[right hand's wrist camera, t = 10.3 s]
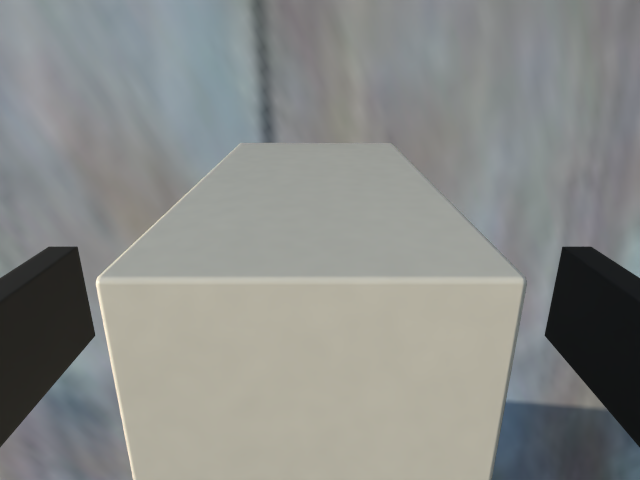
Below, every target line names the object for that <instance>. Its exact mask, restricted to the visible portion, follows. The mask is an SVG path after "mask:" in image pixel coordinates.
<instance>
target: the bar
mask: <svg viewBox="0 0 640 480" xmlns="http://www.w3.org/2000/svg"><path fill="white" fill-rule="evenodd" d="M526 286H527V281H526V278H525V277H524V276H523V275H522V274H521V273H520V272H519V271H518V270H517V269H516V268H515V267H514V266H513V265H512V264H511V263H510V262H509V261H508V260H507V259H506V258H505V257H504V256H503V255H502V254H501V253H500V252H499V251H498V250H497V249H496V247H495V246H494V245H493V244H492V243H491V242H490V241H489V240H488V239H487V238H486V237H485V236H484V235H483V234H482V233H481V232H480V231H479V230H478V229H477V228H476V227H475V226H474V225H473V224H472V223H471V222H470V221H469V220H468V219H467V218H466V217H465V216H464V215H463V214H462V213H461V212H460V211H459V210H458V209H457V208H456V207H455V206H454V205H453V204H452V203H451V202H450V201H449V200H448V199H447V198H446V197H445V196H444V195H443V194H442V193H441V192H440V191H439V190H438V189H437V188H436V187H435V186H434V185H433V184H432V183H431V182H430V181H429V180H428V179H427V178H426V177H425V176H424V175H423V174H422V173H421V172H420V171H419V170H418V169H417V168H416V167H415V166H414V165H413V164H412V163H411V162H410V161H409V160H408V159H407V158H406V157H405V156H404V155H403V154H402V153H401V152H400V151H399V150H398V149H397V148H396V147H395V146H394V145H393V144H391V143H241V144H239V145H238V146H237V147H236V148H235V149H234V150H233V151H232V152H231V153H230V154H228V155H227V156H226V157H225V158H224V159H223V160H222V161H221V162H220V163H219V164H218V165H217V166H216V167H215V168H214V169H212V170H211V171H210V172H209V173H208V174H207V175H206V176H205V177H204V178H203V179H202V180H201V181H200V182H199V183H198V184H197V185H195V186H194V187H193V188H192V189H191V190H190V191H189V192H188V193H187V194H186V195H185V196H184V197H183V198H182V199H181V200H179V201H178V202H177V203H176V204H175V205H174V206H173V207H172V208H171V209H170V210H169V211H168V212H167V213H166V214H165V215H163V216H162V217H161V218H160V219H159V220H158V221H157V222H156V223H155V224H154V225H153V226H152V227H151V228H150V229H149V230H147V231H146V232H145V233H144V234H143V235H142V236H141V237H140V238H139V239H138V240H137V241H136V242H135V243H134V244H133V245H131V246H130V247H129V248H128V249H127V250H126V251H125V252H124V253H123V254H122V255H121V256H120V257H119V258H118V259H117V260H115V261H114V262H113V263H112V264H111V265H110V266H109V267H108V268H107V269H106V270H105V271H104V272H103V273H102V274H101V275H99V276H98V277H97V280H96V287H97V293H98V298H99V303H100V308H101V313H102V319H103V324H104V329H105V334H106V340H107V345H108V350H109V355H110V360H111V366H112V371H113V376H114V381H115V387H116V392H117V397H118V402H119V407H120V413H121V418H122V423H123V428H124V434H125V439H126V444H127V449H128V454H129V460H130V465H131V470H132V475H133V480H492V475H493V469H494V464H495V458H496V452H497V447H498V441H499V436H500V430H501V425H502V419H503V413H504V408H505V402H506V397H507V391H508V386H509V380H510V375H511V369H512V363H513V358H514V352H515V347H516V341H517V336H518V330H519V325H520V319H521V313H522V308H523V302H524V297H525V291H526Z"/></svg>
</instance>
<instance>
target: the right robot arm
mask: <svg viewBox="0 0 640 480" xmlns="http://www.w3.org/2000/svg"><path fill="white" fill-rule="evenodd" d="M94 336H95V331H94V327H93V322H92V317H91V312H90V307H89V302H88V297H87V292H86V287H85V282H84V277H83V272H82V267H81V262H80V257H79V252H78V247H48V248H46V249H45V250H43V251H42V252H40V253H39V254H37V255H35V256H34V257H32V258H31V259H29V260H28V261H26V262H25V263H23V264H22V265H20V266H18V267H17V268H15V269H14V270H12V271H11V272H9V273H8V274H6V275H5V276H3V277H1V278H0V447H1V446H2V445H3V443H4V442H5V441H6V440H7V439H8V438H9V436H10V435H11V434H12V433H13V432H14V430H15V429H16V428H17V427H18V426H19V425H20V423H21V422H22V421H23V420H24V419H25V418H26V416H27V415H28V414H29V413H30V412H31V410H32V409H33V408H34V407H35V406H36V405H37V403H38V402H39V401H40V400H41V399H42V398H43V396H44V395H45V394H46V393H47V392H48V390H49V389H50V388H51V387H52V386H53V385H54V383H55V382H56V381H57V380H58V379H59V378H60V376H61V375H62V374H63V373H64V372H65V371H66V369H67V368H68V367H69V366H70V365H71V363H72V362H73V361H74V360H75V359H76V358H77V356H78V355H79V354H80V353H81V352H82V351H83V349H84V348H85V347H86V346H87V345H88V343H89V342H90V341H91V340H92V339H93V338H94ZM545 336H546V338H547V339H548V340H549V341H550V342H551V343H552V345H553V346H554V347H555V348H556V349H557V351H558V352H559V353H560V354H561V355H562V356H563V358H564V359H565V360H566V361H567V362H568V363H569V365H570V366H571V367H572V368H573V369H574V370H575V372H576V373H577V374H578V375H579V376H580V378H581V379H582V380H583V381H584V382H585V383H586V385H587V386H588V387H589V388H590V389H591V390H592V392H593V393H594V394H595V395H596V396H597V398H598V399H599V400H600V401H601V402H602V403H603V405H604V406H605V407H606V408H607V409H608V410H609V412H610V413H611V414H612V415H613V416H614V418H615V419H616V420H617V421H618V422H619V423H620V425H621V426H622V427H623V428H624V429H625V430H626V432H627V433H628V434H629V435H630V436H631V438H632V439H633V440H634V441H635V442H636V443H637V445H638V446H639V447H640V278H639V277H637V276H635V275H634V274H632V273H631V272H629V271H628V270H626V269H625V268H623V267H622V266H620V265H618V264H617V263H615V262H614V261H612V260H611V259H609V258H608V257H606V256H605V255H603V254H601V253H600V252H598V251H597V250H595V249H594V248H592V247H562V252H561V257H560V262H559V267H558V272H557V277H556V282H555V287H554V292H553V297H552V302H551V307H550V312H549V317H548V322H547V327H546V332H545Z"/></svg>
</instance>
